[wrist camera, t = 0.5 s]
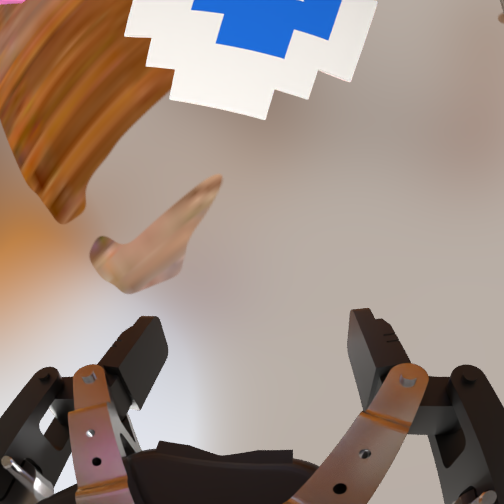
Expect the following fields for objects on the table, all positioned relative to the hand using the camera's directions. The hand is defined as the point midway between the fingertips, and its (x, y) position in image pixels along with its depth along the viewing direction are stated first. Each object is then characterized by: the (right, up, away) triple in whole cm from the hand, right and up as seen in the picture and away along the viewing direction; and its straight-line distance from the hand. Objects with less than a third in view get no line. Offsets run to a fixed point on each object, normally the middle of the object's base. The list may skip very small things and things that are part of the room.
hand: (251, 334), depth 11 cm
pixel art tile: (0, +33, +14) cm, 36 cm away
